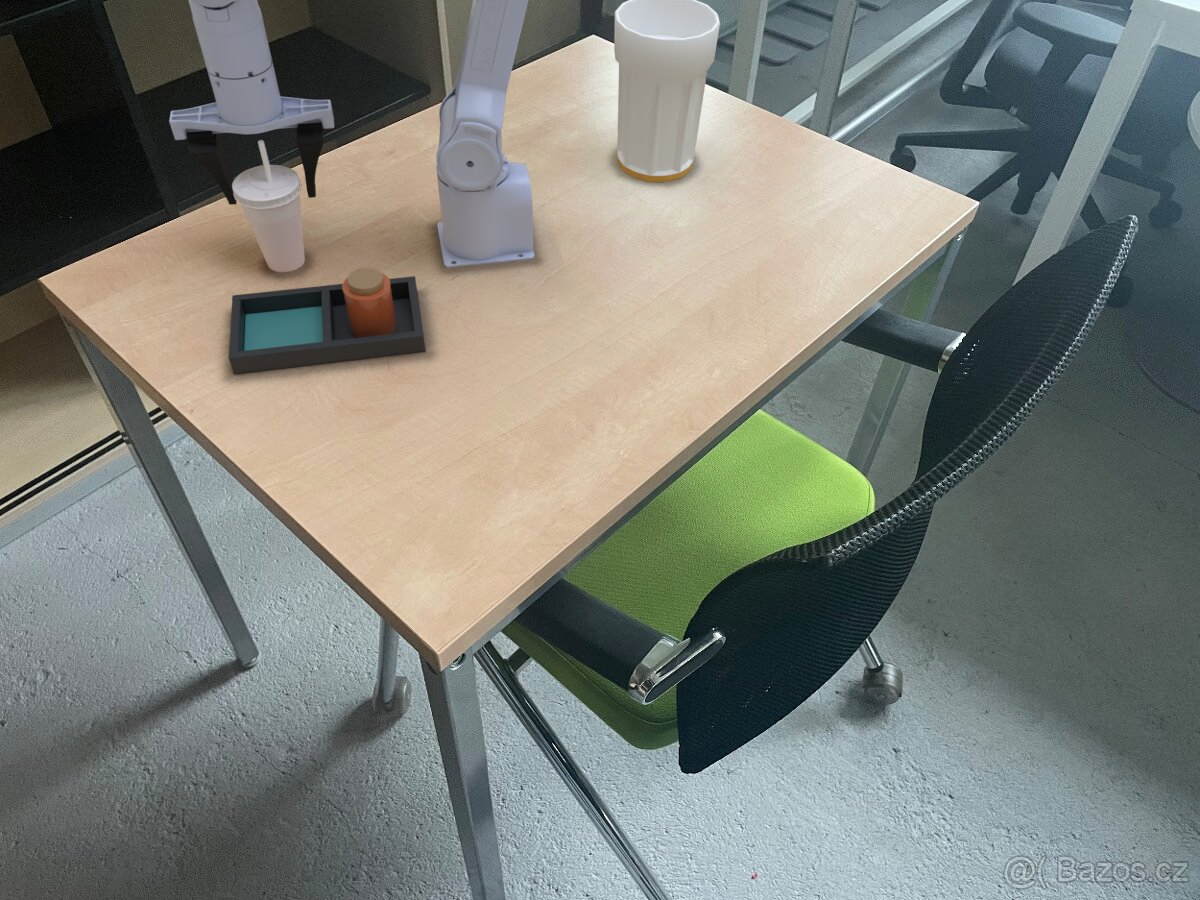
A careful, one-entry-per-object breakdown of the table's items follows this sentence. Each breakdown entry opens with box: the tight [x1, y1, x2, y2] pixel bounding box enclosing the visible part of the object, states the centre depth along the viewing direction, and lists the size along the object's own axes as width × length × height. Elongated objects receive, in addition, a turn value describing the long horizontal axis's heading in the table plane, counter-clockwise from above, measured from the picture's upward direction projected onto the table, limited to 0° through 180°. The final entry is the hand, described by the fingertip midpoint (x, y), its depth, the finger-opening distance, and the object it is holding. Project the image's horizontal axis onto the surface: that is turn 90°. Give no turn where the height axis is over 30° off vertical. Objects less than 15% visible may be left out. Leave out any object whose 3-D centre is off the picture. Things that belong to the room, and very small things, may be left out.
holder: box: [228, 275, 427, 375], centre depth 91 cm, size 9×17×2 cm, turn 103°
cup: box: [613, 0, 721, 183], centre depth 108 cm, size 11×11×17 cm
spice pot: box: [342, 267, 397, 338], centre depth 90 cm, size 4×4×6 cm
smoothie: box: [232, 139, 306, 273], centre depth 94 cm, size 6×6×14 cm
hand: (273, 195), depth 96 cm, fingers open, 7 cm apart
